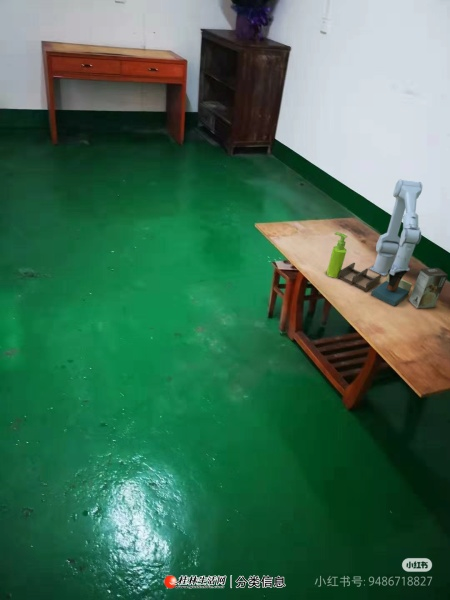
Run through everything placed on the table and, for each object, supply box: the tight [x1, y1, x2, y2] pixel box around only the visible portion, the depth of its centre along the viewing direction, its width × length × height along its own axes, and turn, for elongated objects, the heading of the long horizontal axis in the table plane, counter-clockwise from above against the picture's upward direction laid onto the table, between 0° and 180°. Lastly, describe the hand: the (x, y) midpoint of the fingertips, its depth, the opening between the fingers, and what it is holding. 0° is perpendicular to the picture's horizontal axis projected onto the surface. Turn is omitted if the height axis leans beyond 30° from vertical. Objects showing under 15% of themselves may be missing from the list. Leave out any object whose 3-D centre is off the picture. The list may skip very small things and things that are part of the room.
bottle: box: [387, 278, 400, 291], centre depth 196 cm, size 4×4×7 cm
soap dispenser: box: [326, 231, 348, 279], centre depth 205 cm, size 6×7×20 cm
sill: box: [370, 274, 413, 307], centre depth 198 cm, size 14×11×6 cm
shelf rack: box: [337, 262, 383, 293], centre depth 207 cm, size 13×14×4 cm
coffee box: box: [408, 267, 449, 309], centre depth 192 cm, size 9×6×16 cm
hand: (393, 284), depth 197 cm, fingers closed on bottle, 4 cm apart
